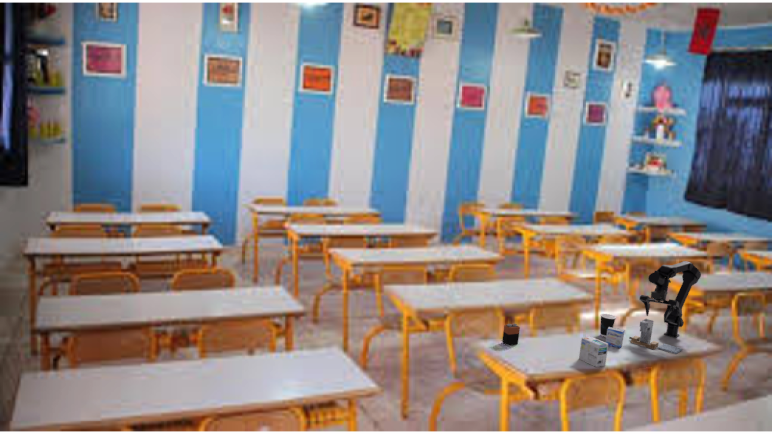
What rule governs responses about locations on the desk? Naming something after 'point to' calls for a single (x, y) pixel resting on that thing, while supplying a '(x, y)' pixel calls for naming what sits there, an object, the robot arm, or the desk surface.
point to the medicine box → (614, 337)
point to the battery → (511, 334)
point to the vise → (637, 341)
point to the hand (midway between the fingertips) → (656, 317)
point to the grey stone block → (646, 330)
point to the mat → (669, 348)
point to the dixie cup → (606, 323)
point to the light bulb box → (593, 351)
